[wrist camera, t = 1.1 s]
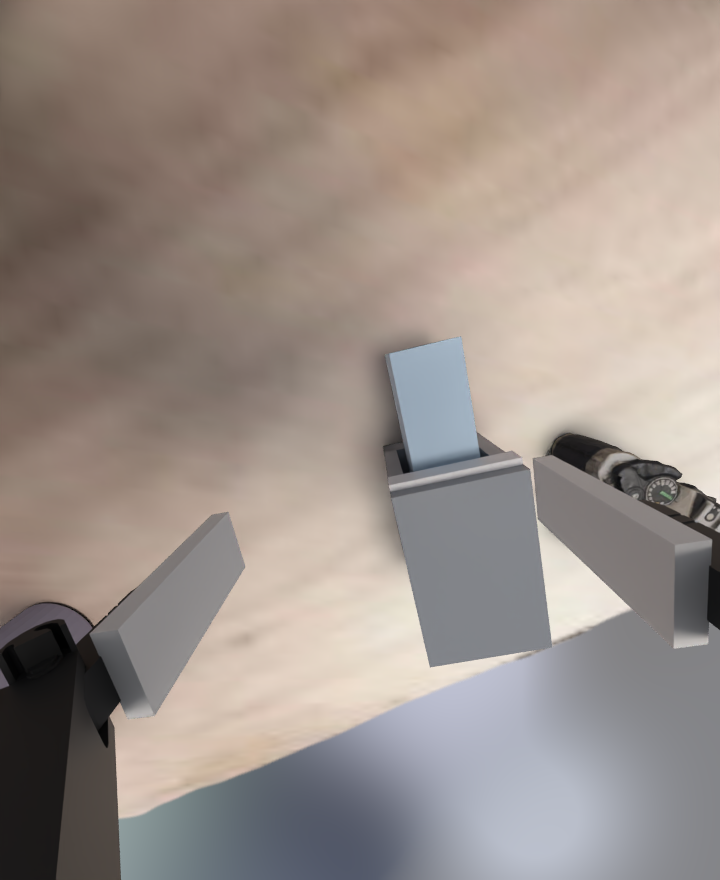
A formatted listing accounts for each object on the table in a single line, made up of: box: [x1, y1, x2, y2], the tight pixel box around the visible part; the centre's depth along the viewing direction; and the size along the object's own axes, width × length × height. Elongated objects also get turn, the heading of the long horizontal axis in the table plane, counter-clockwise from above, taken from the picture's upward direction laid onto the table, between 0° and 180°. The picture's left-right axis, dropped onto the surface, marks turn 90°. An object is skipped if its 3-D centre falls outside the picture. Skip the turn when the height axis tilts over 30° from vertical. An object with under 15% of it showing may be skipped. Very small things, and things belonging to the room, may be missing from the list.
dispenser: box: [383, 432, 552, 667], centre depth 30 cm, size 14×9×13 cm, turn 13°
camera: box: [552, 433, 720, 533], centre depth 31 cm, size 16×10×10 cm, turn 60°
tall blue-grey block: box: [385, 336, 480, 472], centre depth 29 cm, size 18×5×7 cm, turn 13°
